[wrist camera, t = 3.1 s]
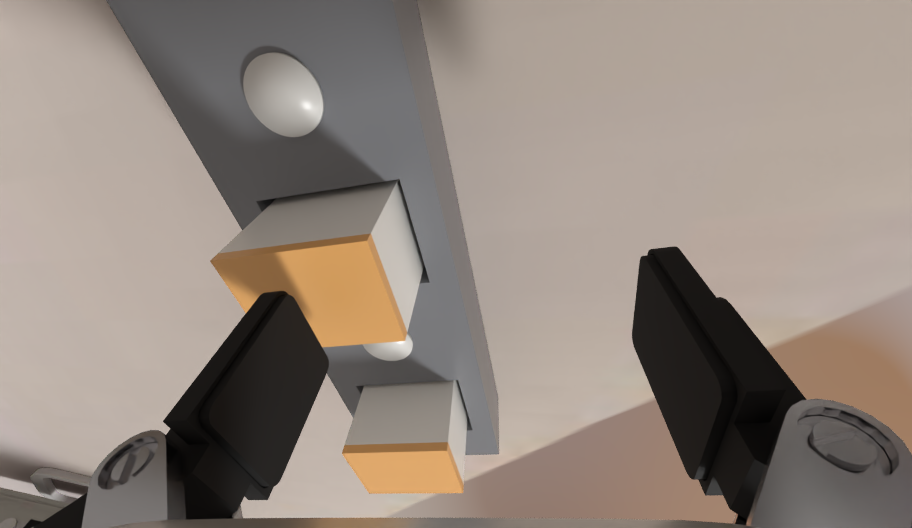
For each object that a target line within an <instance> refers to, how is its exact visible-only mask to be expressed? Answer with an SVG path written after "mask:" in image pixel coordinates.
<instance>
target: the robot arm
mask: <svg viewBox="0 0 912 528" xmlns="http://www.w3.org/2000/svg"><path fill="white" fill-rule="evenodd" d="M632 339H633V344H634V348H635V350H636V353H637V355H638V357H639V360H640V362H641V364H642V367H643V369H644V372H645V374H646V376H647V379H648V381H649V384H650V386H651V388H652V391H653V393H654V396H655V398H656V400H657V403H658V405H659V407H660V410H661V412H662V415H663V417H664V419H665V422H666V424H667V427H668V429H669V431H670V434H671V436H672V438H673V441H674V443H675V446H676V448H677V450H678V453H679V455H680V458H681V460H682V462H683V465H684V467H685V470H686V472H687V474H688V475H689V477H690V478H691V479H698V480H699V482H700V484H701V486H702V489H703V491H704V493H705V495H723V496H724V498H725V500H726V502H727V504H728V506H729V508H730V509H731V510H732V511H734V512H735V513H736V515H735V518H734V521H733V524H727V523H715V522H714V523H713V522H699V521H685V520H644V519H642V520H641V519H639V520H638V519H597V518H244V519H243V517H242V511H241V506H240V504H241V502H242V500H243V498H244V496H245V497H246V498H247V499H248V500H268V498H269V496H270V493H271V491H272V489H273V487H274V486H275V485H277V484H278V483H279V481H280V479H281V478H282V475H283V473H284V471H285V468H286V466H287V464H288V461H289V459H290V457H291V454H292V452H293V450H294V447H295V445H296V443H297V441H298V438H299V436H300V434H301V431H302V429H303V427H304V424H305V422H306V420H307V417H308V415H309V413H310V410H311V408H312V406H313V403H314V401H315V399H316V397H317V394H318V392H319V390H320V387H321V385H322V383H323V380H324V378H325V376H326V373H327V371H328V368H329V360H328V357H327V355H326V353H325V351H324V350H323V348H322V346H321V344H320V343H319V341H318V339H317V337H316V335H315V334H314V332H313V330H312V328H311V327H310V325H309V323H308V321H307V320H306V318H305V316H304V314H303V312H302V311H301V309H300V307H299V305H298V304H297V302H296V300H295V298H294V297H293V296H291V295H289V294H288V293H287V292H285V291H275V292H266V293H262V294H261V295H260V296H259V297H258V299H257V300H256V301H255V302H254V304H253V305H252V306H251V308H250V309H249V310H248V312H247V313H246V314H245V315H244V317H243V318H242V319H241V321H240V322H239V323H238V325H237V326H236V327H235V328H234V330H233V331H232V332H231V334H230V335H229V336H228V338H227V339H226V340H225V341H224V343H223V344H222V345H221V347H220V348H219V349H218V351H217V352H216V353H215V354H214V356H213V357H212V358H211V360H210V361H209V362H208V364H207V365H206V366H205V367H204V369H203V370H202V371H201V373H200V374H199V375H198V377H197V378H196V379H195V380H194V382H193V383H192V384H191V386H190V387H189V388H188V390H187V391H186V392H185V393H184V395H183V396H182V397H181V399H180V400H179V401H178V403H177V404H176V405H175V406H174V408H173V409H172V410H171V412H170V413H169V414H168V416H167V417H166V418H165V419H164V421H163V422H164V423H165V424H166V425H167V426H168V427H170V428H171V429H170V431H169V432H168V433H167V435H165V434H164V433H162V432H161V431H159V430H150V431H146V432H142V433H140V434H137V435H135V436H133V437H131V438H129V439H128V440H126V441H125V442H123V443H122V444H120V445H119V446H118V447H117V448H115V449H114V450H113V451H112V452H111V453H110V454H108V455H107V457H106V458H105V459H104V460H103V461H102V462H101V463H100V464H99V466H98V467H97V469H96V470H95V472H94V473H93V475H92V477H91V480H90V483H89V487H88V493H86V494H85V495H83V496H81V497H80V498H78V499H77V500H75V501H74V502H72V503H71V504H69V505H68V506H66V507H64V508H63V509H61V510H60V511H58V512H57V513H55V514H54V515H52V516H50V517H49V518H47V519H46V520H44V521H43V522H41V523H40V524H38V525H36V526H35V527H33V528H912V454H911V453H910V451H909V449H908V448H907V447H906V445H905V443H904V442H903V440H901V439H900V438H899V437H898V436H897V435H896V434H895V433H894V432H893V431H892V430H891V429H890V428H889V427H888V426H886V425H885V424H883V423H882V422H880V421H878V420H877V419H876V418H874V417H873V416H871V415H869V414H867V413H865V412H863V411H861V410H859V409H857V408H854V407H852V406H849V405H846V404H843V403H839V402H836V401H831V400H823V399H810V400H806V398H805V397H804V396H803V395H802V393H801V392H800V391H799V390H798V388H797V387H796V386H795V384H794V383H793V382H792V381H791V380H790V378H789V377H788V376H787V374H786V373H785V372H784V371H783V369H782V368H781V367H780V366H779V364H778V363H777V362H776V361H775V359H774V358H773V357H772V355H771V354H770V353H769V352H768V350H767V349H766V348H765V347H764V345H763V344H762V343H761V342H760V340H759V339H758V338H757V337H756V335H755V334H754V333H753V332H752V330H751V329H750V328H749V327H748V325H747V324H746V323H745V321H744V320H743V319H742V318H741V316H740V315H739V314H738V313H737V311H736V310H735V309H734V308H733V306H732V305H731V304H730V303H729V302H728V301H727V300H726V299H724V298H721V297H719V298H716V297H715V295H714V294H713V293H712V291H711V290H710V289H709V287H708V286H707V285H706V283H705V282H704V281H703V280H702V278H701V277H700V276H699V274H698V273H697V272H696V270H695V269H694V268H693V266H692V265H691V264H690V262H689V261H688V260H687V259H686V257H685V256H684V255H683V253H682V252H681V251H680V249H679V248H678V247H667V248H658V249H651V250H649V252H648V255H647V256H642V257H641V259H640V264H639V274H638V283H637V292H636V302H635V311H634V320H633V330H632Z"/></svg>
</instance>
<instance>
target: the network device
mask: <svg viewBox="0 0 912 528" xmlns="http://www.w3.org/2000/svg"><path fill="white" fill-rule="evenodd" d="M50 478H52V479H56V480H61V481H65V482H69V483H73V484H78V485H82V486H86V487H89V483H90V480H91V477H88V476H84V475H80V474H76V473H72V472H68V471H63V470H59V469H54V468H39V469H38V470H36V471H35V472H34V473H33V474H32V475H31V480H32V482H33V484H34V485H35V487H36V489H37V490H38V492H39V493H40V494H41V495H43V496H44V497H46V498H44V497H40V496H35V495H31V494H26V493H22V492H18V491H13V490H9V489H4V488H0V528H33V527H35V526H36V525H38V524H40V523H41V522H43V521H44V520H46V519H47V518H49V517H50V516H52V515H54V514H55V513H57V512H58V511H60V510H61V509H63V508H64V507H66V506H68V505H69V504H71V503H72V502H74V501H75V500H77V499H76V498H72V497H68V496H65V495H63V494H61V493H59V492H58V491H57V490H56V488H55V486H54V484H53V482H52V481H51V479H50Z"/></svg>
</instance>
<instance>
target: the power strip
mask: <svg viewBox="0 0 912 528" xmlns="http://www.w3.org/2000/svg"><path fill="white" fill-rule="evenodd" d="M106 1H107V2H108V4H109V6H110V7H111V9H112V11H113V13H114V14H115V16H116V18H117V19H118V21H119V23H120V24H121V26H122V28H123V29H124V31H125V33H126V34H127V36H128V38H129V40H130V41H131V43H132V45H133V46H134V48H135V50H136V51H137V53H138V55H139V56H140V58H141V60H142V62H143V63H144V65H145V67H146V68H147V70H148V72H149V73H150V75H151V77H152V78H153V80H154V82H155V84H156V85H157V87H158V89H159V90H160V92H161V94H162V95H163V97H164V99H165V100H166V102H167V104H168V105H169V107H170V109H171V111H172V112H173V114H174V116H175V117H176V119H177V121H178V122H179V124H180V126H181V127H182V129H183V131H184V133H185V134H186V136H187V138H188V139H189V141H190V143H191V144H192V146H193V148H194V149H195V151H196V153H197V154H198V156H199V158H200V160H201V161H202V163H203V165H204V166H205V168H206V170H207V171H208V173H209V175H210V176H211V178H212V180H213V182H214V183H215V185H216V187H217V188H218V190H219V192H220V193H221V195H222V197H223V198H224V200H225V202H226V204H227V205H228V207H229V209H230V210H231V212H232V214H233V215H234V217H235V219H236V220H237V222H238V224H239V225H240V227H241V229H242V231H243V230H244V229H245V228H246V227H247V226H248V225H249V224H250V223H251V222H252V221H253V220H254V219H255V218H256V217H257V216H258V215H260V214H261V213H262V212H263V211H264V210H265V209H266V208H267V207H268V206H269V205H270V204H271V203H272V202H273V201H274V200H276V199H277V198H281V197H287V196H294V195H300V194H307V193H313V192H319V191H326V190H332V189H339V188H345V187H352V186H358V185H364V184H371V183H377V182H384V181H390V180H397V179H400V182H401V186H402V189H403V193H404V196H405V199H406V203H407V206H408V210H409V213H410V217H411V220H412V223H413V227H414V230H415V234H416V237H417V241H418V244H419V247H420V251H421V254H422V258H423V261H424V268H423V272H422V276H421V280H420V284H419V288H418V292H417V296H416V300H415V304H414V308H413V312H412V316H411V320H410V324H409V328H408V332H407V336H406V340H405V341H399V342H386V343H373V344H360V345H347V346H334V347H322V348H323V350H324V351H325V353H326V355H327V357H328V360H329V368H328V371H327V374H328V376H329V378H330V379H331V381H332V383H333V384H334V386H335V388H336V389H337V391H338V393H339V395H340V396H341V398H342V400H343V401H344V403H345V405H346V406H347V408H348V410H349V411H350V413H351V415H352V416H353V418H354V415H355V412H356V409H357V406H358V403H359V400H360V397H361V394H362V391H363V387H364V386H365V385H383V384H400V383H417V382H434V381H452V380H458V381H459V385H460V388H461V392H462V395H463V399H464V402H465V405H466V409H467V412H468V415H467V433H466V450H465V455H487V454H499V417H498V394H497V390H496V385H495V380H494V375H493V370H492V365H491V360H490V355H489V351H488V346H487V341H486V336H485V331H484V326H483V321H482V316H481V312H480V307H479V302H478V297H477V292H476V287H475V282H474V277H473V273H472V268H471V263H470V258H469V253H468V248H467V243H466V238H465V234H464V229H463V224H462V219H461V214H460V209H459V204H458V199H457V195H456V190H455V185H454V180H453V175H452V170H451V165H450V160H449V156H448V151H447V146H446V141H445V136H444V131H443V126H442V121H441V117H440V112H439V107H438V102H437V97H436V92H435V87H434V82H433V78H432V73H431V68H430V63H429V58H428V53H427V48H426V43H425V39H424V34H423V29H422V24H421V19H420V14H419V9H418V4H417V0H106Z"/></svg>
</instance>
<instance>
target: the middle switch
mask: <svg viewBox="0 0 912 528" xmlns="http://www.w3.org/2000/svg"><path fill="white" fill-rule="evenodd" d="M211 263H212V264H213V266H214V267H215V269H216V270H217V272H218V273H219V275H220V276H221V277H222V279H223V280H224V282H225V283H226V285H227V286H228V288H229V289H230V291H231V292H232V294H233V295H234V296H235V298H236V299H237V301H238V302H239V304H240V305H241V307H242V308H243V310H244V311H245V313H247V312H248V310H249V309H250V308H251V306H252V305H253V304H254V302H255V301H256V300H257V299H258V297H259V296H260V295H261V294H262V293H266V292H275V291H285V292H287V293H288V294H289V295H291V296H293V297H294V298H295V300H296V302H297V304H298V305H299V307H300V309H301V311H302V312H303V314H304V316H305V318H306V320H307V321H308V323H309V325H310V327H311V328H312V330H313V332H314V334H315V335H316V337H317V339H318V341H319V343H320V344H321V346H322V347H334V346H347V345H360V344H373V343H386V342H399V341H405V340H406V336H407V332H408V328H409V324H410V320H411V316H412V312H413V308H414V304H415V300H416V296H417V292H418V288H419V284H420V280H421V276H422V272H423V268H424V261H423V258H422V254H421V251H420V247H419V244H418V241H417V237H416V234H415V230H414V227H413V223H412V220H411V217H410V213H409V210H408V206H407V203H406V199H405V196H404V193H403V189H402V186H401V182H400V179H397V180H390V181H384V182H377V183H371V184H364V185H358V186H352V187H345V188H339V189H332V190H326V191H319V192H313V193H307V194H300V195H294V196H287V197H281V198H277V199H276V200H274V201H273V202H272V203H271V204H270V205H269V206H268V207H267V208H266V209H265V210H264V211H263V212H262V213H261V214H260V215H258V216H257V217H256V218H255V219H254V220H253V221H252V222H251V223H250V224H249V225H248V226H247V227H246V228H245V229H244V230H243V231H241V232H240V233H239V234H238V235H237V236H236V237H235V238H234V239H233V240H232V241H231V242H230V243H229V244H228V245H227V246H226V247H224V248H223V249H222V250H221V251H220V252H219V253H218V254H217V255H216V256H215V257H214V258H213V259H212V260H211Z"/></svg>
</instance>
